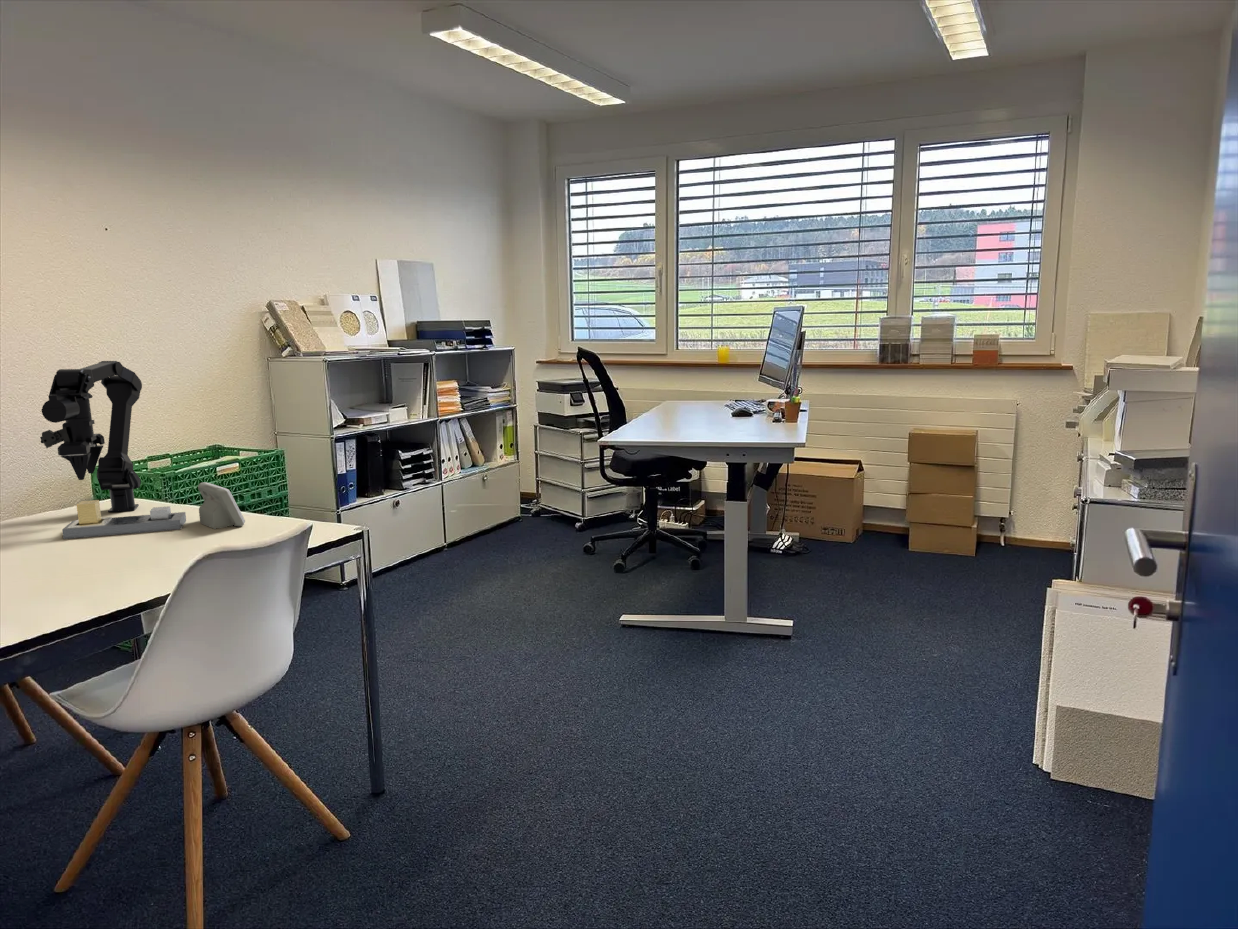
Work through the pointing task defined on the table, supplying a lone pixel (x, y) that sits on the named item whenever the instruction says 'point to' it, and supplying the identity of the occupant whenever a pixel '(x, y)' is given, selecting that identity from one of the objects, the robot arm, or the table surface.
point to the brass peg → (89, 512)
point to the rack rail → (123, 526)
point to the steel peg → (160, 513)
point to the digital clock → (218, 507)
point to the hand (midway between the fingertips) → (86, 476)
